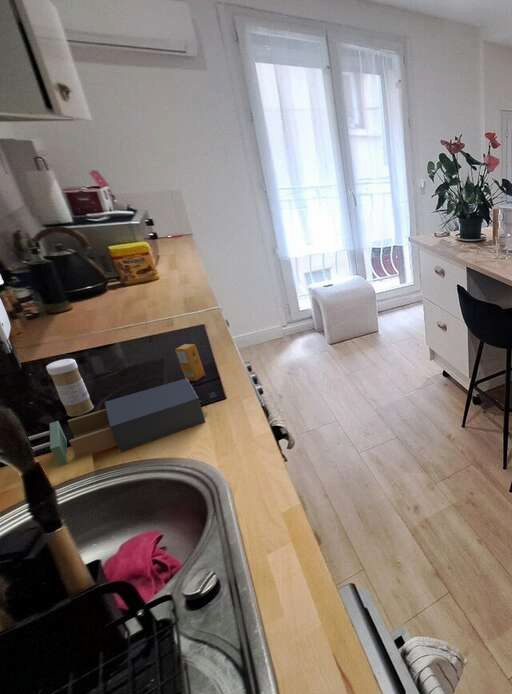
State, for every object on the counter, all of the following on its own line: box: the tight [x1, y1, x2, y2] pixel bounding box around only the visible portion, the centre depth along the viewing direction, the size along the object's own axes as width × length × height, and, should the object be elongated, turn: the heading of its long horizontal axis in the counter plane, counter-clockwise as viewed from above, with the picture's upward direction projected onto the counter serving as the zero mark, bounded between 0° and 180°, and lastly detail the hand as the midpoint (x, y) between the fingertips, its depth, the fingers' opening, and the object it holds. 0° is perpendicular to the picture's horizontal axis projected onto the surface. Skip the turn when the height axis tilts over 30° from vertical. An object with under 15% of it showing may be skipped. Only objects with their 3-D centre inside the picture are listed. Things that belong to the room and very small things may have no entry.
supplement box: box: [174, 343, 206, 382], centre depth 112 cm, size 3×3×10 cm
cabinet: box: [104, 377, 206, 453], centre depth 94 cm, size 15×13×7 cm
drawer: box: [28, 408, 118, 467], centre depth 86 cm, size 19×11×5 cm, turn 138°
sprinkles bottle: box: [45, 358, 95, 418], centre depth 96 cm, size 5×5×14 cm
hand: (8, 371), depth 77 cm, fingers closed
